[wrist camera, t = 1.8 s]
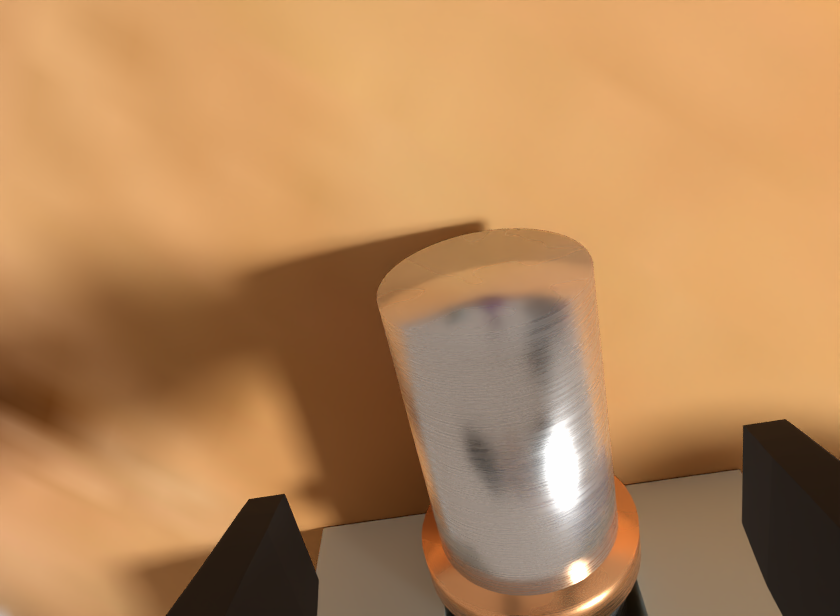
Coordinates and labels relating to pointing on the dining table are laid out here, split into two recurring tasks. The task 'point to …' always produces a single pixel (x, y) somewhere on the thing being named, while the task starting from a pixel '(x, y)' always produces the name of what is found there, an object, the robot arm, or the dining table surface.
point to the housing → (646, 603)
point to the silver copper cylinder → (511, 425)
